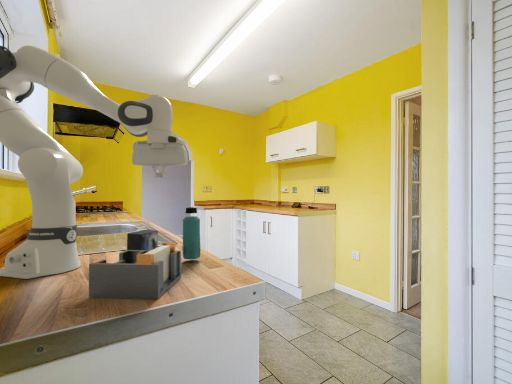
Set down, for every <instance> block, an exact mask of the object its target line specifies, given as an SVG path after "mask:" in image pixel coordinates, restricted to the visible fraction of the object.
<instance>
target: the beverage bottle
mask: <svg viewBox="0 0 512 384" xmlns="http://www.w3.org/2000/svg"><path fill="white" fill-rule="evenodd" d="M185 214H198V211H197V207H195V206H191V207H186V208H185ZM181 249H182V250H181V256H182V258H183V259H184V260H196V259H197V260H198V259H199V258H201V257H200V256H201V218H199V216H195V215H190V216H189V215H188V216H185V217H183V218H182V247H181Z"/></svg>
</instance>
